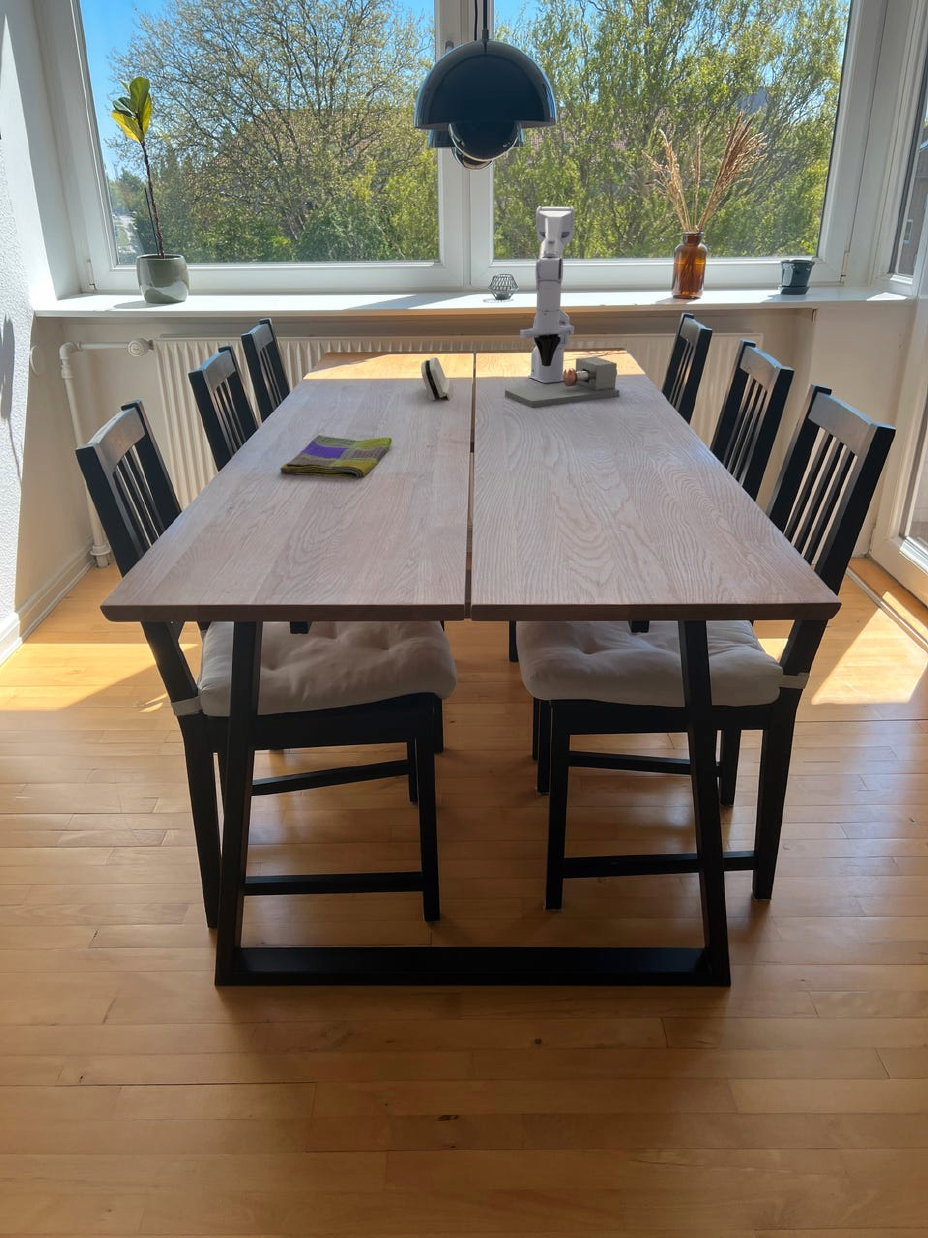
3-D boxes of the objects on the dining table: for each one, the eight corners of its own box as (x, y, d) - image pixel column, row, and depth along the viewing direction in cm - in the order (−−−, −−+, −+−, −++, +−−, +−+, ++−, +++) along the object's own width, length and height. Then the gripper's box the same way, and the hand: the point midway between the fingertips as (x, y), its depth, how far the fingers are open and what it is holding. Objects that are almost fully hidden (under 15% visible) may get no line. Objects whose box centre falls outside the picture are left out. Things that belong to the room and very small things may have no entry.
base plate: (504, 395, 242) (505, 389, 241) (589, 385, 252) (589, 379, 252) (531, 407, 231) (531, 401, 230) (619, 395, 241) (619, 390, 240)
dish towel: (396, 447, 202) (396, 435, 201) (361, 482, 181) (361, 469, 179) (320, 443, 205) (319, 431, 204) (277, 477, 184) (276, 463, 183)
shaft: (562, 384, 243) (563, 367, 241) (609, 378, 248) (610, 362, 246) (571, 387, 239) (572, 370, 237) (618, 382, 245) (620, 365, 243)
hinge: (450, 400, 238) (436, 362, 234) (433, 406, 239) (418, 369, 235) (452, 385, 253) (439, 350, 249) (436, 391, 254) (423, 356, 250)
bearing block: (574, 383, 248) (576, 358, 245) (593, 381, 250) (595, 356, 247) (595, 391, 240) (597, 365, 237) (615, 388, 242) (616, 363, 239)
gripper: (530, 314, 224) (529, 371, 230) (581, 309, 229) (579, 365, 236) (516, 310, 229) (515, 366, 236) (566, 305, 235) (564, 360, 241)
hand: (546, 365), depth 236 cm, fingers closed
